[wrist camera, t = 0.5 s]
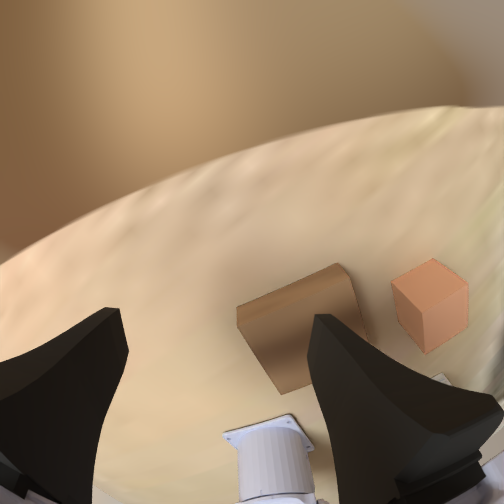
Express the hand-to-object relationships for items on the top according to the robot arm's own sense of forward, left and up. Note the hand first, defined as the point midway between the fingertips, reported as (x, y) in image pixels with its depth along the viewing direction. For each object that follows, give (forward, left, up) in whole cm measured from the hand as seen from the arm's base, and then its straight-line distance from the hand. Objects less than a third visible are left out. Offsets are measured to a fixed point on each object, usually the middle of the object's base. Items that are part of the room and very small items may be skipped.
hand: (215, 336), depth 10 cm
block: (-11, -13, -10) cm, 19 cm away
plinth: (-9, -3, -10) cm, 13 cm away
